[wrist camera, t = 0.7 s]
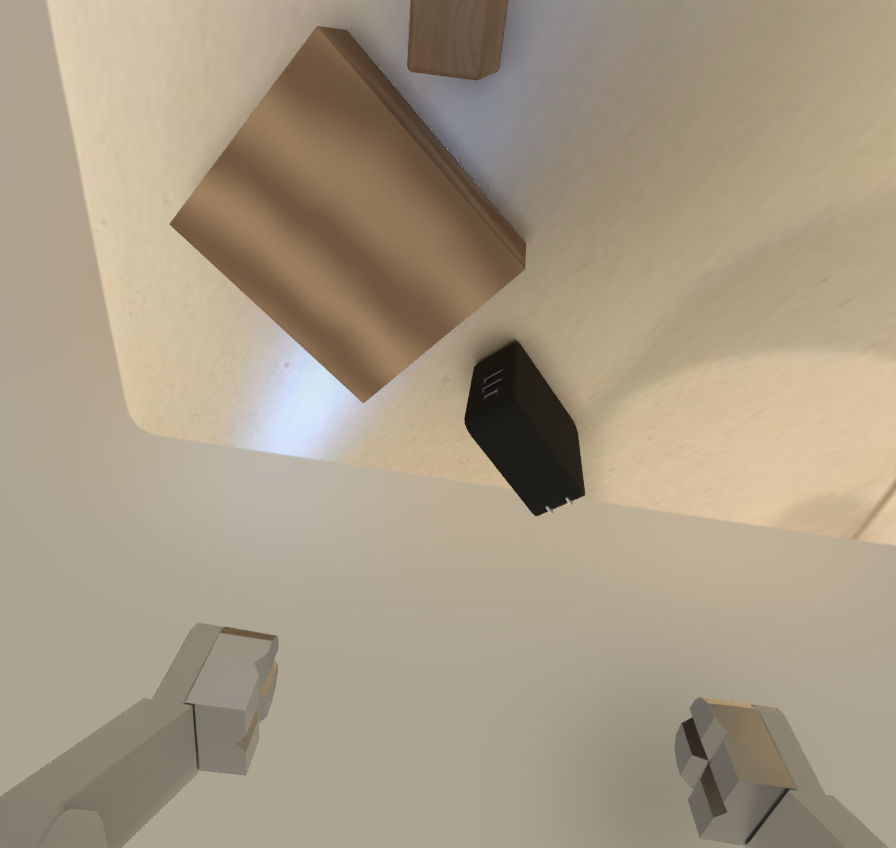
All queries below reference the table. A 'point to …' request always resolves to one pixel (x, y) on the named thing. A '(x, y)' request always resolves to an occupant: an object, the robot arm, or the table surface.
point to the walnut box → (349, 218)
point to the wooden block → (456, 37)
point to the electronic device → (525, 430)
